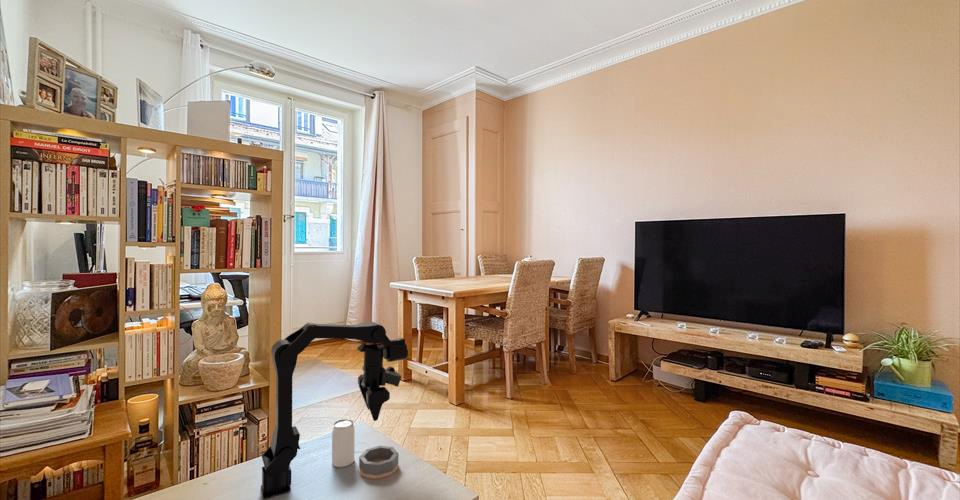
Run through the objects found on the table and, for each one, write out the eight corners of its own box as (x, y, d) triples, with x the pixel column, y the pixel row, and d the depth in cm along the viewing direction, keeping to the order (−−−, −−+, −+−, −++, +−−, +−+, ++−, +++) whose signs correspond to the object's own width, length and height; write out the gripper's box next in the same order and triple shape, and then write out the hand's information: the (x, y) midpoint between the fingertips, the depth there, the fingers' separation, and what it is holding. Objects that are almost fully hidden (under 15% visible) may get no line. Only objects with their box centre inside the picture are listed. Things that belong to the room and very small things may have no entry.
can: (357, 457, 125) (358, 419, 125) (349, 468, 119) (349, 428, 118) (337, 456, 126) (338, 418, 125) (328, 467, 119) (328, 427, 119)
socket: (366, 483, 111) (366, 469, 111) (354, 465, 121) (354, 451, 121) (404, 471, 117) (404, 457, 117) (390, 454, 127) (390, 442, 127)
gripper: (407, 369, 119) (406, 422, 119) (392, 354, 135) (391, 400, 135) (369, 374, 114) (367, 428, 114) (358, 357, 130) (357, 405, 130)
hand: (372, 414), depth 123 cm, fingers open, 9 cm apart
